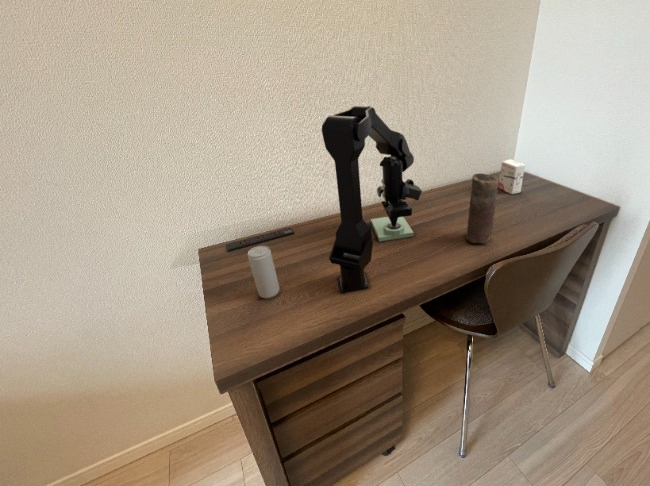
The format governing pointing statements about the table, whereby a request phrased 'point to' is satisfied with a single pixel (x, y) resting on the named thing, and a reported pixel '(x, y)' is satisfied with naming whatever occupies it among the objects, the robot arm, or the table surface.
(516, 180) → the ink box
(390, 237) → the pale green flat piece
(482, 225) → the candle
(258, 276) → the beverage can
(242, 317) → the table surface
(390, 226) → the button
